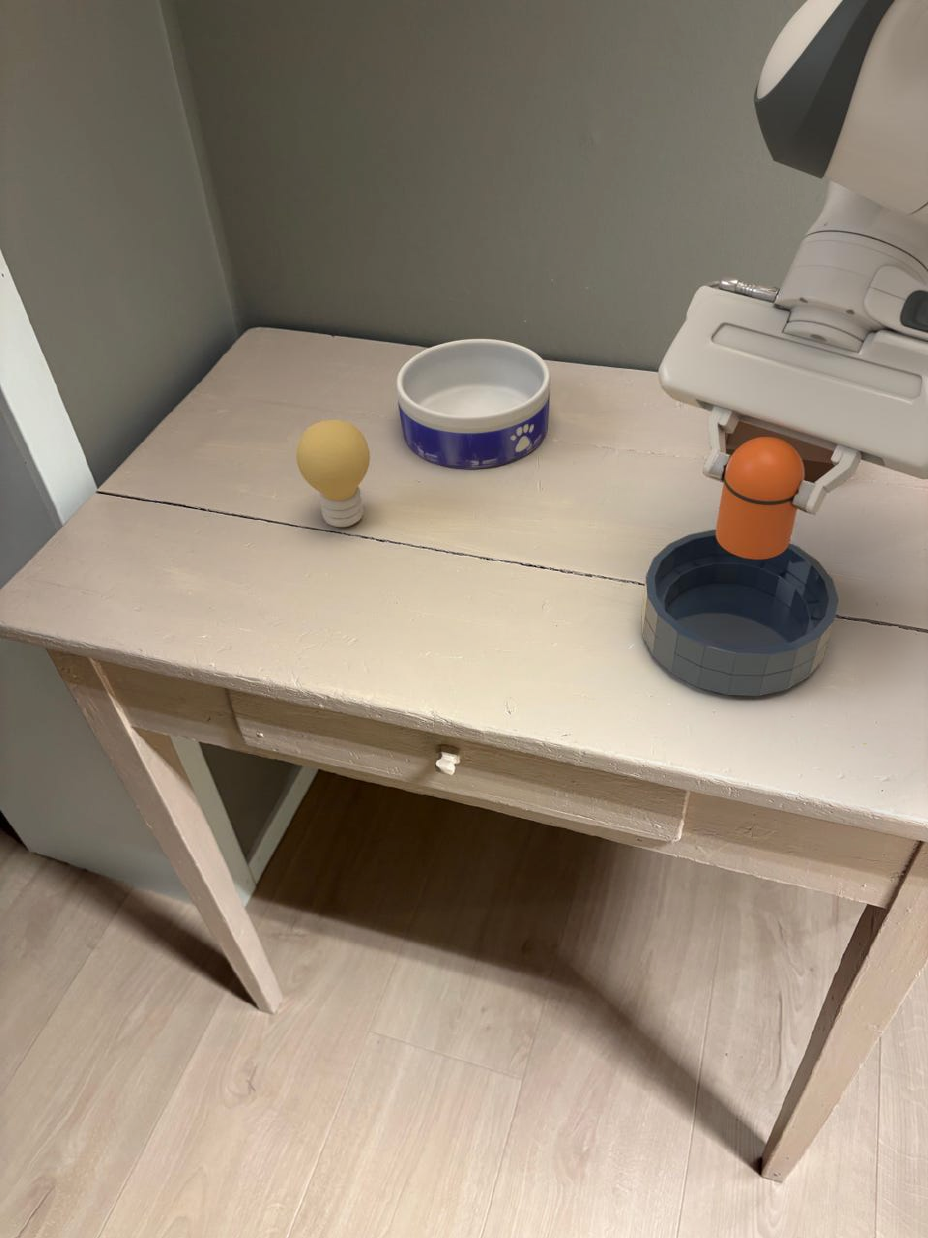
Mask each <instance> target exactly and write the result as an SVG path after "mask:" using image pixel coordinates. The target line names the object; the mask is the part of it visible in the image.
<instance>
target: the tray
mask: <svg viewBox="0 0 928 1238" xmlns="http://www.w3.org/2000/svg"><path fill="white" fill-rule="evenodd" d="M759 437H773V438H778V439H781V440H783V441H785V442H787V443H788V444H790V445H791V446H792V447H793V448H794V449H795V450H796V451H797V452H798V454H799V455H800V457H801V459H802V462H803V465H804V480H805V481H808V482H811V483H814V484H815V482H816V481H817V480H818V479H820V478H821V477H822V476H823V475H825V474H826V473H827V472H829V471H830V470H831V469H832V468H834V467H835V466H834V464H833V462H832V460H831V457H832V455H833V453H834V451H832V450H829V449H826V448H823V447H820V446H817V445H814V444H810V443H807V442H804V441H801V440H798V439H795V438H792V437H789V436H785V435H782V434H779V433H776V432H773V431H770V430H767V429H764V428H760V427H757V426H754V425H751V424H748V423H745V422H742V421H738V423H737V425H736V428H735V430H734V432H733V433H732V434H729V433H726V432H725V446H726V454H728V455H731V456H732V454H733V453H734V452H735V451H736V450H737V449H738V448H739V447H740V446H741V445H742V444H744V443H746V442H747V441H749V440H752V439H755V438H759Z"/></svg>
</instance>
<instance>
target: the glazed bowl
mask: <svg viewBox="0 0 928 1238" xmlns="http://www.w3.org/2000/svg"><path fill="white" fill-rule="evenodd" d="M643 588H644V589H643V599H642V607H641V615H640V616H641V617H640V618H641V635H642V638H643V639H644V641H645V643H646V645H647V647H648V649H649V651H650V653H651V655H652V656H653V657H654V658H655V659H656V660H657V661H658V662H659V663H660V664H661V665H662V666H663V667H664V668H665V669H666V670H667V671H669V673H671V674H672V675H674V676H676V677H677V678H679V679H681V680H683V681H685V682H686V683H689V684H691V685H693V686H694V687H697V688H700V689H702V690H703V689H704V690H707V691H711V692H714V693H718V694H722V695H726V696H746V697H747V696H748V697H750V696H751V697H758V696H764V695H769V694H773V693H774V694H775V693H779V692H782V691H786V690H788V689H790V688H792V687H793V686H795V685H797V684H799V683H800V682H803V681H805V680H806V679H808V678H809V677H810V676H811V675H812V673H814V671H815V670H816V669H817V667H818V666H819V665H820V664H821V662H822V661H823V658H824V655H825V652H826V649H827V646H828V644H829V643H828V642H829V639H830V637H831V633H832V629H833V627H834V623H835V620H836V615H837V611H838V606H839V595H838V592H837V590H836V585H835V582H834V580H833V578H832V577H831V575H830V574H829V572H828V571H827V570H826V569H825V568H824V566H823V565H822V563H821V562H820V561H819V560H818V559H816V558H815V557H814V556H811V555H810V554H809V553H807V552H806V551H805V550H804V549H802V548H801V547H800V546H798V545H796V544H794V543H791V542H789V545H788V547H787V549H786V550H785V551H784V552H783V553H781V554H780V555H778V556H775V557H772V558H769V559H761V560H755V559H746V558H742V557H739V556H736V555H734V554H732V553H730V552H728V551H727V550H725V549H724V548H723V547H722V546H721V545H720V544H719V542H718V541H717V538H716V529H710V530H705V531H699V532H695V533H690V534H688V535H686V536H683V537H682V538H681V537H680V538H679V539H676V540H675V541H673V542H670V543H668V544H667V545H666V546H665V547H664V548H663V549H662V550H661V551H660V552H659V553H658V554H656V555H655V556H654V557H653V558H652V560H651V562H650V565H649V567H648V570H647V573H646V574H645V580H644V587H643Z"/></svg>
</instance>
